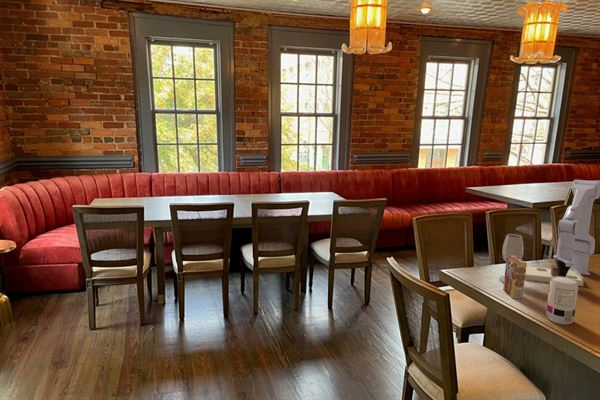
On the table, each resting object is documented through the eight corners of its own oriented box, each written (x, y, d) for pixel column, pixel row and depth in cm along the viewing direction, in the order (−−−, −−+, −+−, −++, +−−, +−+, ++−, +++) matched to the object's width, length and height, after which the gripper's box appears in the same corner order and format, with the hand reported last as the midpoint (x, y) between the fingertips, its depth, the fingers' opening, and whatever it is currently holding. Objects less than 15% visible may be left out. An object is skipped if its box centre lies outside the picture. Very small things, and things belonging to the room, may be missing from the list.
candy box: (523, 299, 157) (527, 262, 154) (512, 298, 157) (516, 262, 154) (513, 290, 165) (516, 255, 163) (502, 289, 166) (505, 255, 163)
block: (550, 273, 178) (551, 264, 177) (561, 274, 176) (562, 266, 175) (551, 276, 174) (552, 267, 173) (562, 277, 172) (563, 268, 172)
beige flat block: (518, 270, 188) (519, 263, 187) (574, 276, 180) (575, 269, 180) (523, 279, 177) (523, 272, 176) (583, 286, 169) (584, 278, 169)
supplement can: (540, 317, 142) (545, 277, 139) (555, 313, 145) (560, 274, 142) (563, 327, 134) (568, 286, 132) (578, 322, 138) (584, 282, 135)
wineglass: (499, 283, 172) (504, 237, 169) (498, 276, 180) (502, 232, 177) (522, 286, 169) (527, 239, 165) (519, 279, 177) (524, 234, 173)
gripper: (550, 241, 176) (547, 270, 178) (559, 251, 162) (555, 282, 165) (568, 243, 173) (565, 272, 176) (579, 252, 160) (575, 284, 162)
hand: (561, 277), depth 170 cm, fingers closed
